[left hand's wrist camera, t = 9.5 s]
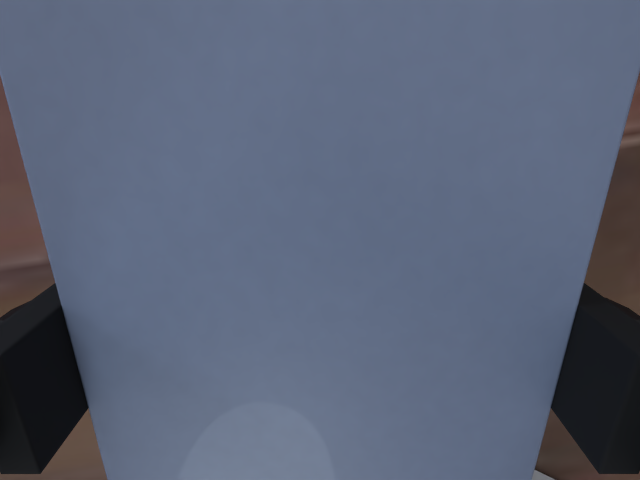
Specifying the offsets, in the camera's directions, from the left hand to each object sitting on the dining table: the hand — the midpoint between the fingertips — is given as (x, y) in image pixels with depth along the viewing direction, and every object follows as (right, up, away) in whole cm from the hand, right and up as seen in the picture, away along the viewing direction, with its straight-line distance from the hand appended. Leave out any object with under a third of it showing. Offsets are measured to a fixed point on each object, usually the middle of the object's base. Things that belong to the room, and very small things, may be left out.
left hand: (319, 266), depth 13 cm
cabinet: (0, +7, +2) cm, 7 cm away
